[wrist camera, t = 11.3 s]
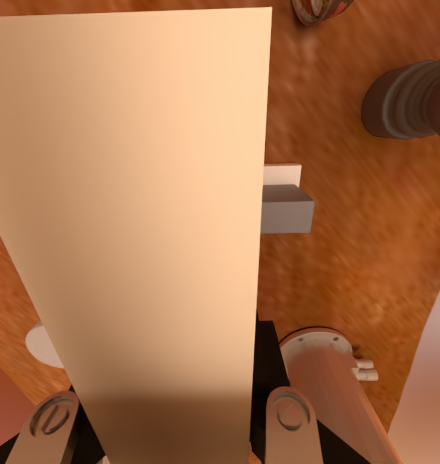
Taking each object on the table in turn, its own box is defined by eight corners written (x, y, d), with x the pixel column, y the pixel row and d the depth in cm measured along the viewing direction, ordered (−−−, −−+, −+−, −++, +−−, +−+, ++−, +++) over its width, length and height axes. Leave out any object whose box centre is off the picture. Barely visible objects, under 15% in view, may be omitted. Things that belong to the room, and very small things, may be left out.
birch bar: (238, 80, 7) (272, 7, 2) (236, 418, 15) (243, 550, 10) (105, 85, 7) (-103, 20, 2) (173, 419, 15) (152, 551, 10)
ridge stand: (297, 162, 26) (324, 177, 19) (290, 220, 29) (312, 251, 22) (119, 168, 26) (84, 184, 20) (131, 224, 29) (104, 256, 23)
